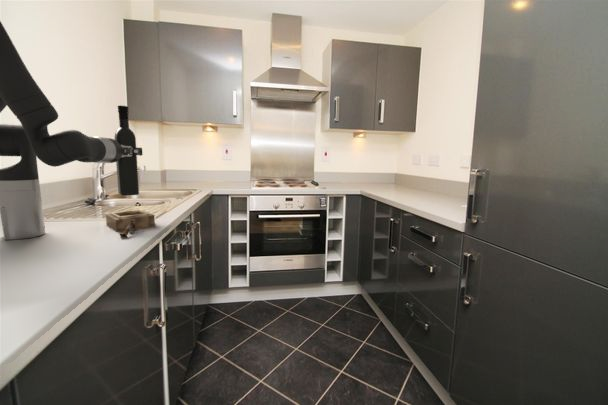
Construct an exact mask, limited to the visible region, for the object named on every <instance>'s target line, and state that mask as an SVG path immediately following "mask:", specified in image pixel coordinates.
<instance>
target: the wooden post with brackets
mask: <svg viewBox="0 0 608 405" xmlns="http://www.w3.org/2000/svg"><path fill="white" fill-rule="evenodd" d="M134 223H135V220H134V219H133V220H131V222H130V224H129V225H128V226H127V228H126V230H125V231H122V232H120V233H119V237H120V239H122V238H123V239H125V238H128V234H129V235H134V233H136V232H137V228H136V227H135V224H134ZM132 227H133V229H132V230H130V229H131V228H132Z"/></svg>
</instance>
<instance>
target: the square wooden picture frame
mask: <svg viewBox="0 0 608 405" xmlns="http://www.w3.org/2000/svg"><path fill="white" fill-rule="evenodd" d="M133 219H134V220H135V223H134V224H135V227H136V228H137V229H138V230H139V229H144V228H145V229H146V228H150V227H151V228H153V227H156V222H155V221H156V220H155V214H152V213H150V212H148V211H145V210H143V209H136V210H134V209H133V210H125V211H115V212H110V213H108V214H106V213H105V222H106V226H107V227H109V228H110V229H112V230H113V231H115V232H116V233H119V232H124V231H125V230H126V228H127V226H128V225H129V224H130V222H131V220H133ZM132 229H133V227H132V228H131V229H130V231H131V230H132Z"/></svg>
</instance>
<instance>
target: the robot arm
mask: <svg viewBox="0 0 608 405" xmlns="http://www.w3.org/2000/svg"><path fill="white" fill-rule="evenodd" d="M6 107H7V108H9V110H10V111H11V113H13V115H14V116H15V117H16V118H17V120H18V121H19V122H20V124H14V123H0V157H20V161H18V162H17V163H15V164H13V165H10V166H8V167H4V168H3V167H2V168H0V220H1V226H2V234H3V239H4V241H7V240H21V239H29V238H35V237H39V236H42V235H45V234H46V225H45V217H44V210H43V202H42V201H43V200H42V195H41V194H42V193H41V185H40V179H39V170H38V168H39V167H38V160H39V161H41V162H42V163H44V165H47V166H49V167H55V168H56V167H60V166H63V165H67V164H69V163H72V162H75V161H76V162H77V161H78V162H81V163H95V164H113V163H116V161H118V160H119V159H120V158H121V157H124V156H128V157H131V156H132V155H134V156H137V157H138V156H140V157H141V156H143V155H144V154H143V148H142V147H137V146H136V147H131V146H123V145H120V144H119V142H117V141H116V140H115V138H111V137H110V138H109V137H103V136H102V137H101V136H88V135H86V134H84V133H83V132H82V131H79V130H76V129H69V130H68V129H66V130H63V131H59V132H56V133H54V134H50V133H49V129H48V126H49V125H50V124H52V123H54V122H55V121H57V119H58V118H59V114H58V111H57V110H56V109H55V107H54V105H53V104H52V103H51V102H50V100H49V99H48V97H47V96H46V95H45V93H44V92H43V90H42V89H41V88H40V86H39V84H37V82H36V81H35V79H34V77H33V76H32V74H31V73H30V72H29V70H28V68H27V65H25V63H24V61H23V59H22V57H21V56H20V54H19V51H18V50H17V48H16V46H15V45H14V43H13V41H12V39H11V37H10V36H9V34H8V31H7V30H6V28H5V26H4V25H3V23H2V22H1V20H0V114H1V113H2V112H3V111H4V109H5V108H6ZM124 147H125V148H124ZM132 153H133V154H132ZM37 159H38V160H37Z"/></svg>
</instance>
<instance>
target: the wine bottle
mask: <svg viewBox="0 0 608 405" xmlns="http://www.w3.org/2000/svg"><path fill="white" fill-rule="evenodd" d="M117 112H118V123H119V127H118V129H117V130H116V131H115V132H114V140H116V141H117V142H119V144H120V145H123V146H131V147H136V148H137V142H136V135H135V132H133V131H132V130H131V128H130V123H129V106H126V105H117ZM124 148H125V147H124ZM132 154H133V153H132ZM115 164H116V166H115V167H116V175H117V176H116V177H117V192H118V193H117V194H118V195H120V196H122V197H123V196H125V197H126V196H127V197H128V196H138V195H139V194H140V188H139V186H140V185H139V171H138V155H137V156H134V155H132V156H131V157H128V156H124V157H121V158H120V159H119V160H118V161H116V162H115Z"/></svg>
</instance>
